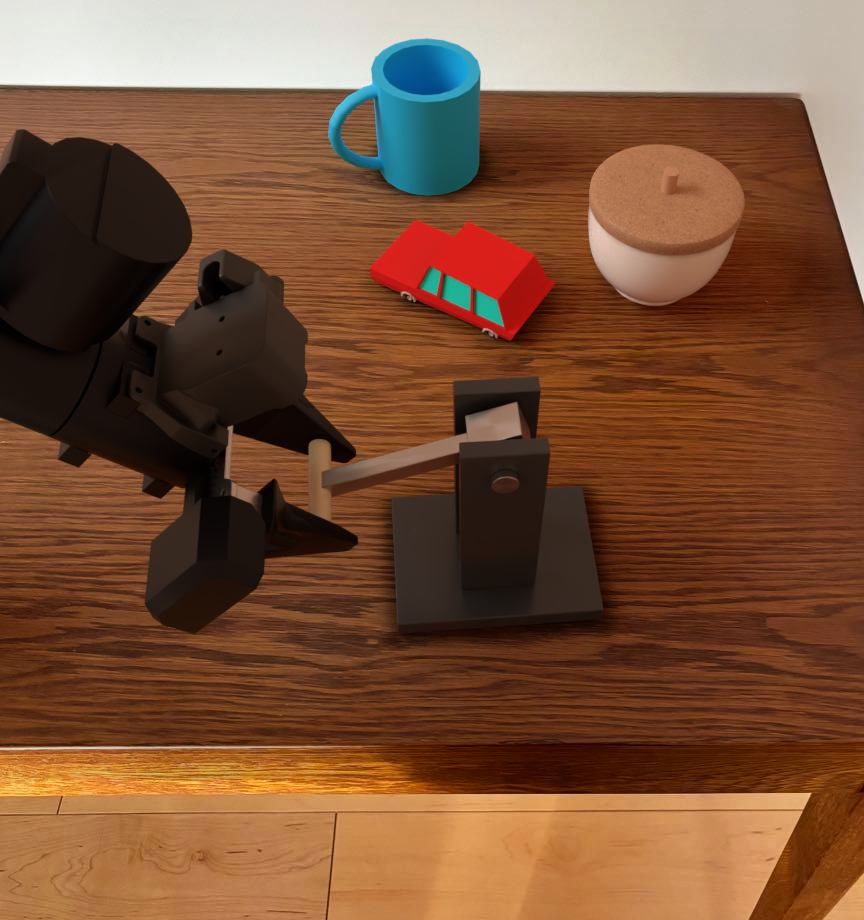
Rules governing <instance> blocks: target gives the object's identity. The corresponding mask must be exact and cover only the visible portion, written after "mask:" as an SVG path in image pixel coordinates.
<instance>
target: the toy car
mask: <svg viewBox="0 0 864 920" xmlns="http://www.w3.org/2000/svg"><path fill="white" fill-rule="evenodd" d="M369 272H370V276H371V278H372V280H373V281H374V282H375V283H376V284H379V285H381V286H384V287H386V288H388V289H390V290H393V291H395V292H396V293H397V292H398V293H399V294H400V297H403V296H404V295H405V298H406V300H407V301H408V302H413V303H416V302H417V301H418V302H420V303H423V304H425V305H427V306H429V307H431V308H433V309H436V310H438V311H441V312H443V313H445V314H448V315H450V316H452V317H454V318H456V319H459V320H461V321H464V322H466V323H468V324H469V325H472V326H475V327H477V328H479V329H481V333H484V332H485V331H486V333H487V335H488V337H490V338H495V339H498V338H503V340H506V341H509V342H511V341H512V340H513V338H514V337H515V336H516V335H517V334H518V332H519V331H520V329H521V328H522V327H523V326H524V324H525V323H526V322H527V321H528V320H529V318H530V317H531V315H532V314H533V313H534V312H535V310H536V309H537V308H538V307H539V305H540V304H541V303H542V302H543V301H544V299H545V298H546V296H547V295H548V294H549V293H550V292H551V290H552V289H553V287H554V286H555V284H556V281H554V280H552V279H549V277H548V275H547V273H546V272H545V270H544V268H543V267H542V265H541V264H540V261H539V260H538V258H537V256H536V255H535V254H534V253H532V252H530V251H527V250H525V248H522V247H519V246H518V245H516V244H514V243H512V242H510V241H508V240H507V239H504V238H502V237H500V236H498V235H496V234H494V233H492V232H490V231H488V230H486V229H484V228H483V227H480V226H478V225H476V224H474V223H472V222H470V221H467V222H466V223H465V224H464V225H463V226H461V228H460V229H459V230H458V232H457V233H456V234H455V235H454V236H453V235H452V234H450V233H447V232H445V231H443V230H440V229H438V228H436V227H434V226H432V225H429V224H427V223H424V222H423V221H420V220H418V219H415V220H414V221H413V222H412V223H410V225H409V226H408V227H407V228H406V229H405V230H404V231H403V232H402V233H401V234H400V236H398V237H397V239H396V240H394V242H392V244H391V245H390V246H389V247H388V248H387V249H386V250H385V251H384V252H383V253H382V254H381V255H380V256H379V257H378V258H377V260H375V262H373V264H372V265H371V266H370V267H369Z"/></svg>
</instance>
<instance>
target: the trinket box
mask: <svg viewBox="0 0 864 920" xmlns="http://www.w3.org/2000/svg"><path fill="white" fill-rule="evenodd" d="M745 204H746V199H745V193H744V191H743V188H742V185H741V184H740V182H739V180H738V179H737V178H736V176H735V175H734V174H733V173H732V171H731V170H730V169H729V168H728V167H726V166H725V165H724V164H722V163H721V161H718V160H716V159H715V158H714V157H712V156H710V155H708V154H705V153H703V152H700V151H698V150H695V149H693V148H689V147H685V146H684V147H683V146H679V145H672V144H662V143H661V144H660V143H658V144H657V143H655V144H654V143H653V144H643V145H642V144H641V145H637V146H633V147H628V148H625V149H623V150H620V151H617V152H616V153H614V154H612V155H611V156H609V157H608V158H607V159H605V160H604V161H603V162H602V163H601V164H600V165H598V167H597V168H596V170H595V171H594V173H593V175H592V176H591V180H590V185H589V191H588V216H587V227H588V229H587V230H588V231H587V232H588V242H589V249H590V251H591V255H592V259H593V260H594V263H595V265H596V267H597V270H598V271H599V272H600V273H601V275H602V276H603V277H604V279H605V280H606V281H607V282H608V283H609V284H610V285H611V286H612V287H613V288H614V289H615V290H616V291H617V293H619V294H620V295H621V296H622V297H623V298H626V299H627V300H628V301H630V302H634V303H636V304H639V305H644V306H648V307H649V306H651V307H658V306H659V307H661V306H667V305H671V304H674V303H676V302H679V301H680V300H681V299H684V298H686V297H689V296H691V295H693V294H695V293H696V292H698V291H699V290H700V289H702V288H704V286H706V285H707V284H708V283H709V282H710V281H711V280H712V279H713V278H714V277H715V275H716V274H717V273H718V272H719V270H720V269H721V268H722V265H723V264H724V262H725V261H726V259H727V257H728V255H729V252H730V251H731V248H732V245H733V242H734V240H735V236H736V234H737V231H738V228H739V226H740V225H741V222H742V218H743V216H744V211H745V206H746V205H745Z"/></svg>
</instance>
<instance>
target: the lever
mask: <svg viewBox="0 0 864 920" xmlns="http://www.w3.org/2000/svg"><path fill="white" fill-rule="evenodd" d="M465 419H466V429H467V433H464V434H460V435H457V436H454V435H452V436H449V437H446V438H442V439H438V440H435V441H431V442H427V443H423V444H420V445H415V446H413V447H408V448H405V449H402V450H398V451H393V452H390V453H386V454H382V455H379V456H375V457H372V458H371V457H370V458H368V459H363V460H360V461H357V462H353V463H349V464H345V465H342V466H338V467H333V468H332V461H331V444H330V443H329V442H328V441H326V440H324V439H316V440H313V441H311V442H310V443H309V456H308V463H307V464H308V468H307V469H308V474H307V475H308V476H307V477H308V481H307V482H308V483H307V484H308V485H307V488H308V489H307V492H308V493H307V495H308V496H307V511H308V512H310V513H312V514H314V515H317V516H319V517H321V518H324V519H326V520H328V521H330V522H333V521H332V519H333V518H332V515H333V512H332V511H333V510H332V507H333V506H332V498H334V497H337V496H341V495H346V494H350V493H353V492H358V491H361V490H365V489H369V488H371V487H376V486H380V485H383V484H387V483H392V482H395V481H399V480H403V479H406V478H411V477H415V476H418V475H422V474H426V473H429V472H433V471H437V470H441V469H445V468H448V467H452V466H454V465H456V464H459V443H460V442H478V441H496V440H513V439H531V437H530V430H529V427H528V425H527V423H526V420H525V418H524V416H523V414H522V411H521V409H520V407H519V405H518V403H517V402H513V403H510V404H506V405H502V406H499V407H495V408H491V409H488V410H484V411H480V412H477V413H473V414H469V415H466V416H465Z"/></svg>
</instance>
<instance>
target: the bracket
mask: <svg viewBox="0 0 864 920" xmlns="http://www.w3.org/2000/svg"><path fill="white" fill-rule="evenodd" d="M541 392H542V388H541V384H540V378H539V376H521V377H520V376H519V377H505V378H504V377H502V378H483V379H465V380H464V379H462V380H453V381H452V396H453V397H452V407H453V409H452V410H453V411H452V413H453V417H452V418H453V436H457V435H460V434H464V433H467V429H466V419H465V416H466V415H469V414H473V413H477V412H480V411H484V410H488V409H491V408H495V407H499V406H502V405H506V404H510V403H513V402H517V403H518V405H519V407H520V409H521V411H522V414H523V416H524V418H525V420H526V423H527V425H528V427H529V430H530V437H531V439H513V440H496V441H478V442H460V443H459V464H456V465H453V487H454V488H453V489H454V493H442V494H428V495H427V494H426V495H411V496H395V497H391V498H390V502H391V522H392V543H393V544H392V545H393V560H394V561H393V562H394V563H393V564H394V565H393V566H394V584H395V585H394V587H395V605H396V606H395V607H396V624H397V632H398V634H399V635H401V634H417V633H428V632H429V633H431V632H442V631H444V632H445V631H456V630H470V629H471V630H472V629H482V628H483V629H484V628H498V627H499V628H500V627H512V626H514V627H515V626H525V625H526V626H527V625H540V624H553V623H567V622H581V621H582V622H583V621H597V620H602V618H603V614H604V604H603V598H602V591H601V586H600V580H599V575H598V569H597V563H596V558H595V552H594V546H593V539H592V535H591V530H590V523H589V518H588V517H589V516H588V512H587V506H586V501H585V494H584V488H583V485H575V486H574V485H573V486H559V487H547V486H548V477H549V470H550V469H549V468H550V460H551V447H550V441H549V437H537V434H538V433H537V432H538V424H539V413H540V402H541V394H542V393H541Z"/></svg>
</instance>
